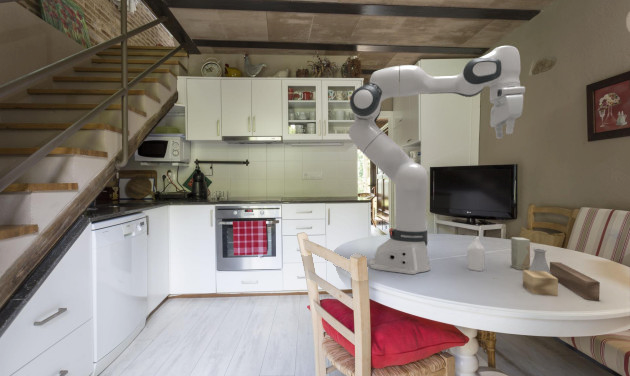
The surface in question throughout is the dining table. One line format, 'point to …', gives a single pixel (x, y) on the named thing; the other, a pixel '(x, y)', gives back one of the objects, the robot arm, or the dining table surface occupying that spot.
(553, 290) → the oak block
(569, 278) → the walnut board
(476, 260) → the white bottle
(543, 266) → the flask
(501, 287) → the dining table surface
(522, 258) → the box
